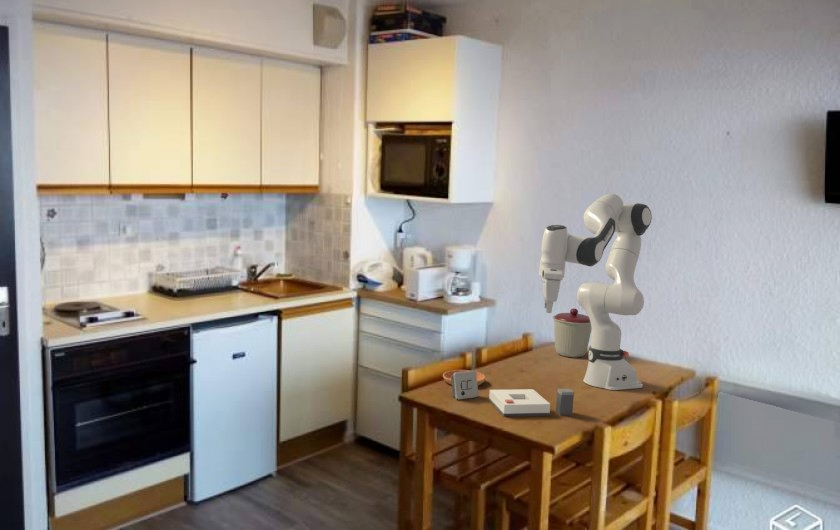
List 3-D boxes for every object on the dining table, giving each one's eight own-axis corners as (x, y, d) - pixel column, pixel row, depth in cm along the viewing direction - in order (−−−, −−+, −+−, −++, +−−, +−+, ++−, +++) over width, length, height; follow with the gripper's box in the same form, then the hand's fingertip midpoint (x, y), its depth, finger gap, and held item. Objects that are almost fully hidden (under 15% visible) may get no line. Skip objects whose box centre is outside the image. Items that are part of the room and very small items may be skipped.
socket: (532, 400, 258) (533, 387, 257) (549, 415, 242) (550, 402, 242) (488, 400, 255) (489, 388, 254) (503, 416, 239) (504, 403, 238)
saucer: (435, 384, 272) (435, 376, 271) (453, 374, 286) (454, 367, 285) (474, 392, 265) (475, 384, 264) (491, 381, 279) (492, 374, 278)
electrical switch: (456, 400, 253) (457, 374, 253) (448, 397, 257) (448, 371, 257) (478, 397, 258) (479, 371, 257) (470, 394, 262) (470, 369, 262)
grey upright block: (567, 411, 248) (569, 388, 247) (572, 415, 244) (574, 392, 243) (555, 411, 247) (557, 388, 246) (559, 415, 244) (561, 392, 242)
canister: (567, 347, 339) (571, 303, 336) (599, 357, 325) (603, 310, 322) (541, 352, 328) (545, 306, 325) (573, 362, 314) (577, 314, 311)
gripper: (540, 267, 265) (537, 305, 267) (544, 273, 245) (540, 314, 247) (558, 269, 265) (554, 306, 266) (563, 275, 245) (559, 316, 246)
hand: (547, 310), depth 256 cm, fingers open, 8 cm apart
